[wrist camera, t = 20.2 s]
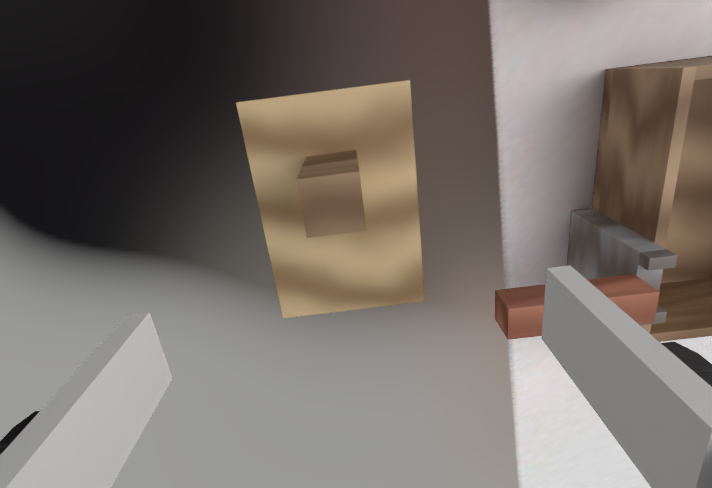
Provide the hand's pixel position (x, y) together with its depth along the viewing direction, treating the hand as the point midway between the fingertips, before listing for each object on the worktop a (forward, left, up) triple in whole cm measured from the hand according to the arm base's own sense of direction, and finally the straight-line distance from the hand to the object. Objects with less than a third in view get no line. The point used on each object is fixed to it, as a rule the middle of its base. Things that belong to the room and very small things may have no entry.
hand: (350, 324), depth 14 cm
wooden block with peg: (+3, -1, -23) cm, 23 cm away
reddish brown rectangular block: (+8, +14, -13) cm, 21 cm away
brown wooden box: (+4, +28, -23) cm, 36 cm away
